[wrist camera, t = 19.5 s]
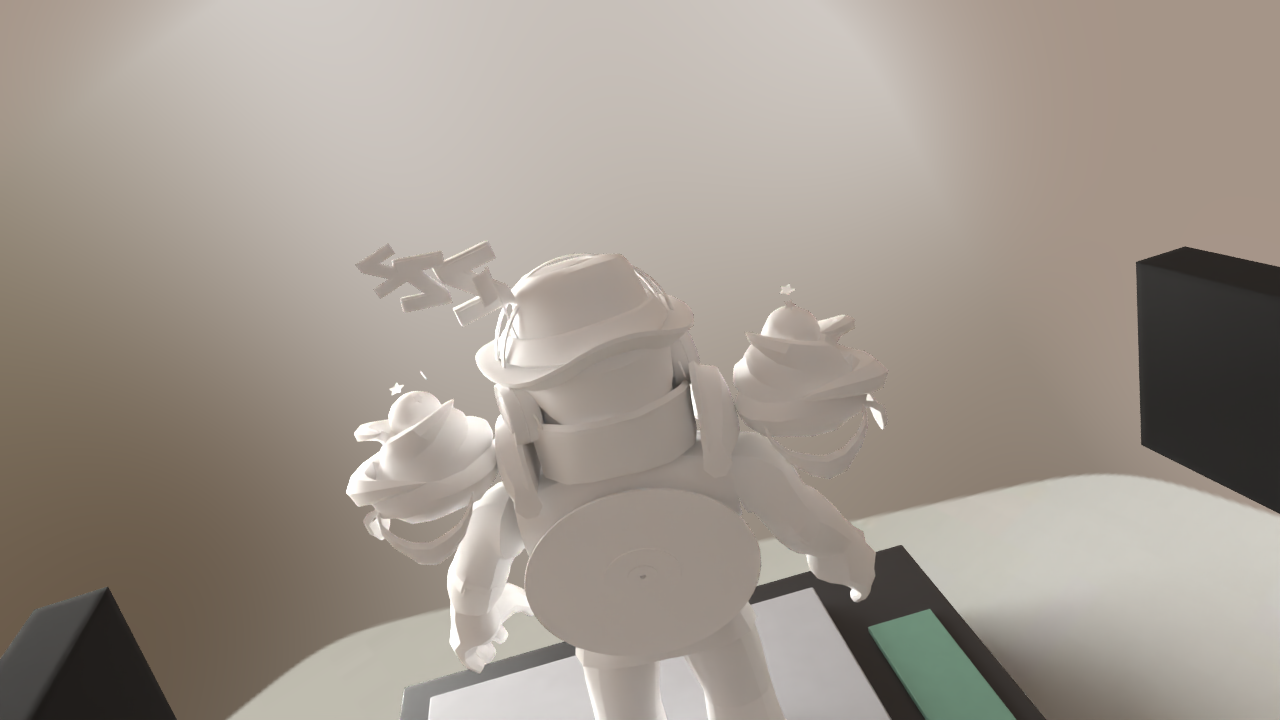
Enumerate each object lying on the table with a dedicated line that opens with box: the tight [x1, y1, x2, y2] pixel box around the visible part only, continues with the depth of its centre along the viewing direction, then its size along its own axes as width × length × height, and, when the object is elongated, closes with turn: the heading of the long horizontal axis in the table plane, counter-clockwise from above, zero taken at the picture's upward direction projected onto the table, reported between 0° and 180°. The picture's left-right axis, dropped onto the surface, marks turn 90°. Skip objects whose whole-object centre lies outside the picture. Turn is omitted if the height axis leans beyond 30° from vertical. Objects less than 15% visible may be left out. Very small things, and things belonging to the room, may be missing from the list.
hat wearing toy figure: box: [346, 240, 888, 720], centre depth 16 cm, size 9×4×12 cm, turn 92°
